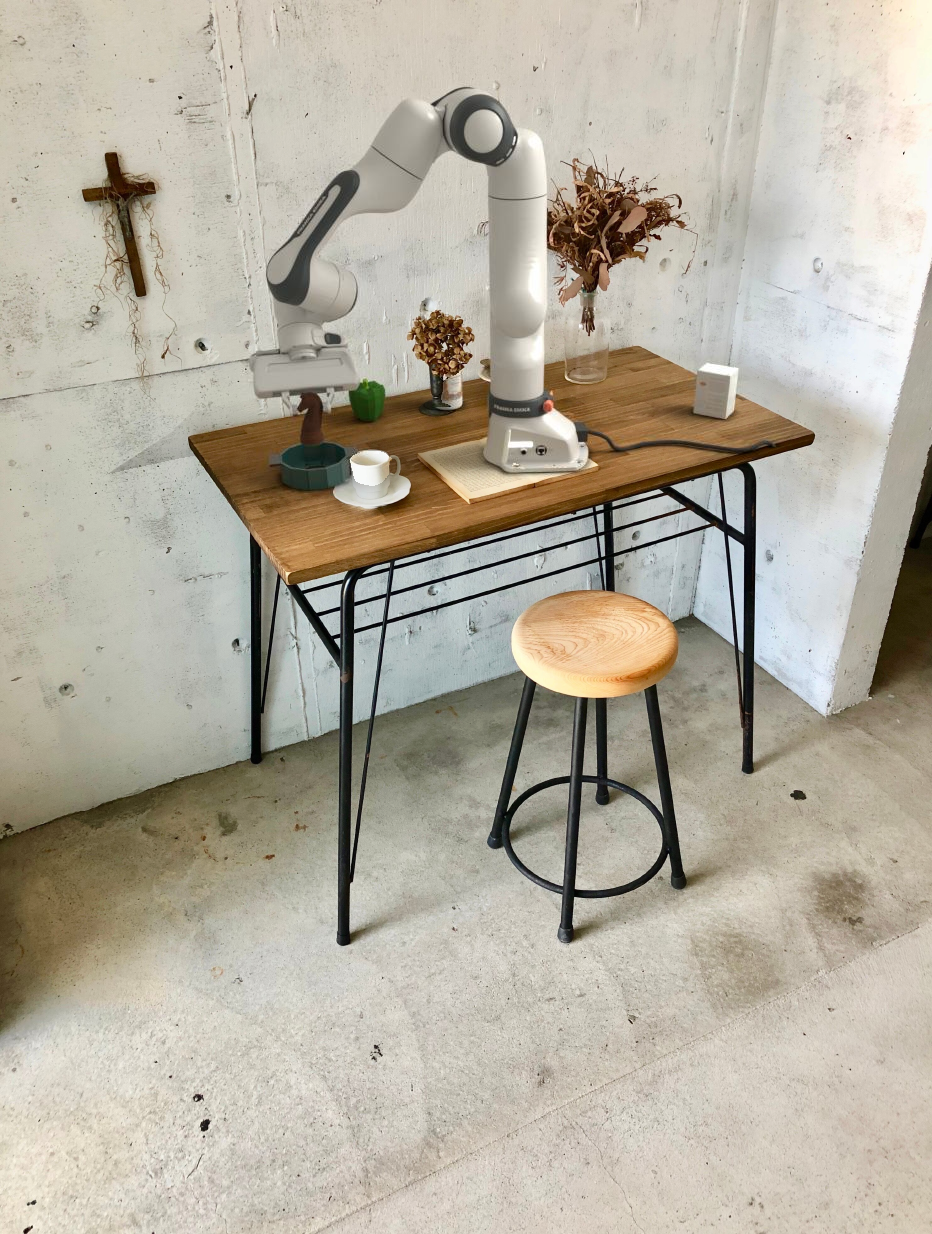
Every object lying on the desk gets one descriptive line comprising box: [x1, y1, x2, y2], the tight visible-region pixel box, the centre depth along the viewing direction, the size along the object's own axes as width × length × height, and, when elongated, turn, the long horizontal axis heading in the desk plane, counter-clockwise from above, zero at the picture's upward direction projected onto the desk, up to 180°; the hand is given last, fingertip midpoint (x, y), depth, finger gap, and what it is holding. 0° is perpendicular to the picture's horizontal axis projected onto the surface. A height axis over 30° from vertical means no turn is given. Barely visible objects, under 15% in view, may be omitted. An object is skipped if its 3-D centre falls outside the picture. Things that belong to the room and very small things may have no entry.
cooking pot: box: [268, 440, 359, 491], centre depth 211 cm, size 14×18×4 cm
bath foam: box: [435, 370, 463, 411], centre depth 237 cm, size 7×7×20 cm
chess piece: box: [297, 392, 325, 446], centre depth 195 cm, size 5×5×10 cm
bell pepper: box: [348, 378, 386, 423], centre depth 234 cm, size 8×8×10 cm
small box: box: [692, 362, 739, 420], centre depth 233 cm, size 8×6×10 cm
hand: (311, 414), depth 194 cm, fingers closed on chess piece, 5 cm apart
